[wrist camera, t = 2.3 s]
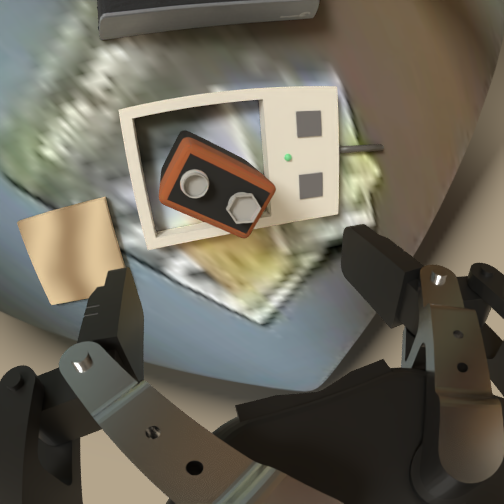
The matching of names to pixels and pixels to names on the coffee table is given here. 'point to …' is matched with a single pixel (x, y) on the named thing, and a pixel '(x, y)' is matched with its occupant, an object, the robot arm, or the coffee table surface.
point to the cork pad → (72, 249)
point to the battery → (214, 185)
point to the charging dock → (274, 156)
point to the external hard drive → (192, 14)
